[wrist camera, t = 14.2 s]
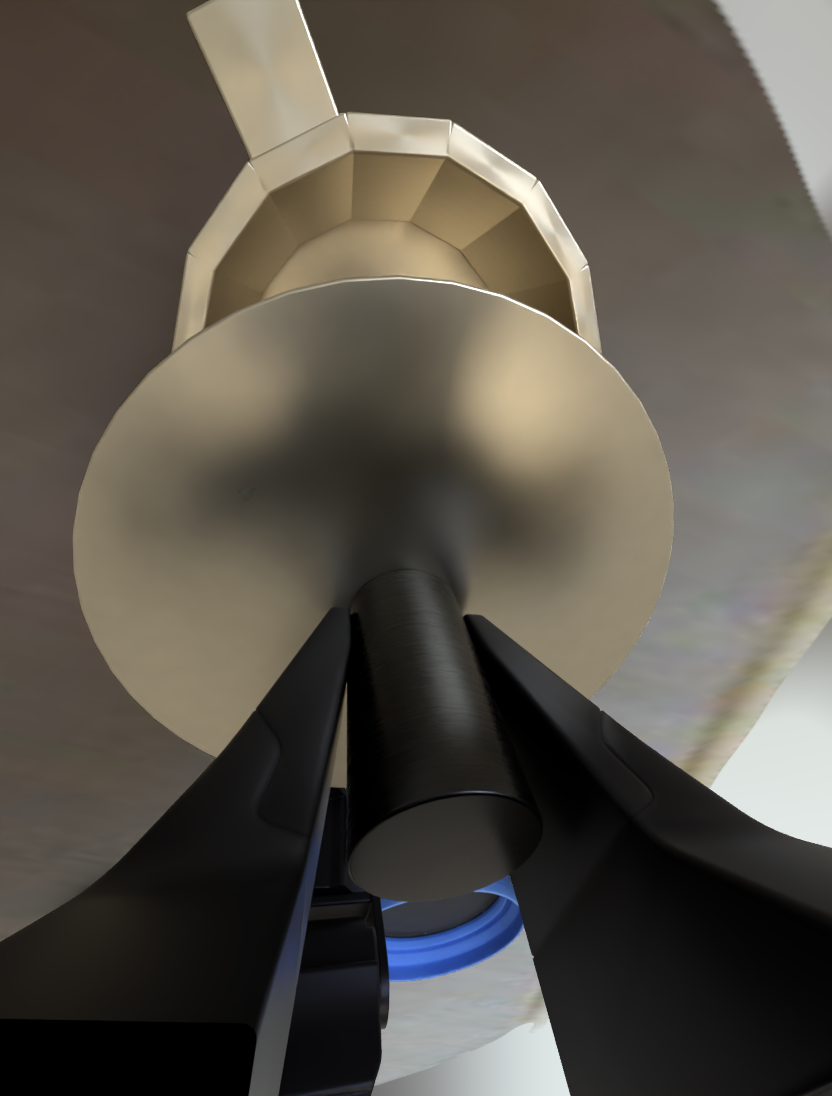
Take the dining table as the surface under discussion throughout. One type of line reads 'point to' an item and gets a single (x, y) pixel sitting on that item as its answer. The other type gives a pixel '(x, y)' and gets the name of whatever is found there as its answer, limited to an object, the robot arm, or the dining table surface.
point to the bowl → (449, 931)
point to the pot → (359, 190)
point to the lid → (378, 544)
